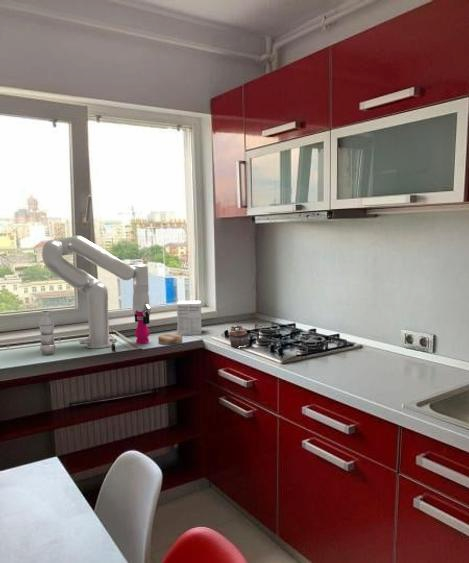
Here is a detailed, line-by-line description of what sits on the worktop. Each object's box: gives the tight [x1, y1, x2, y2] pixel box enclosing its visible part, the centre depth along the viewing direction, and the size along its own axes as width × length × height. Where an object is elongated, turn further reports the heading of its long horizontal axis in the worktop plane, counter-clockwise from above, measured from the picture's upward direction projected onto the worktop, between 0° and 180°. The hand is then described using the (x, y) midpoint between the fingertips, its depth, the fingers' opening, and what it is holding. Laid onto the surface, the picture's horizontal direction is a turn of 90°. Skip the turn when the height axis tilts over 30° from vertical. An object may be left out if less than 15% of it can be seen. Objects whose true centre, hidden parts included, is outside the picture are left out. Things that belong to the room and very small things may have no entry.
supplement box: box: [176, 300, 202, 336], centre depth 259 cm, size 13×13×18 cm
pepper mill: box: [134, 310, 151, 345], centre depth 236 cm, size 7×7×20 cm
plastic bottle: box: [38, 310, 56, 356], centre depth 212 cm, size 6×7×20 cm
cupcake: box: [228, 324, 250, 349], centre depth 224 cm, size 10×10×10 cm
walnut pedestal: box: [157, 333, 183, 346], centre depth 236 cm, size 12×12×3 cm
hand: (142, 322), depth 236 cm, fingers open, 8 cm apart
